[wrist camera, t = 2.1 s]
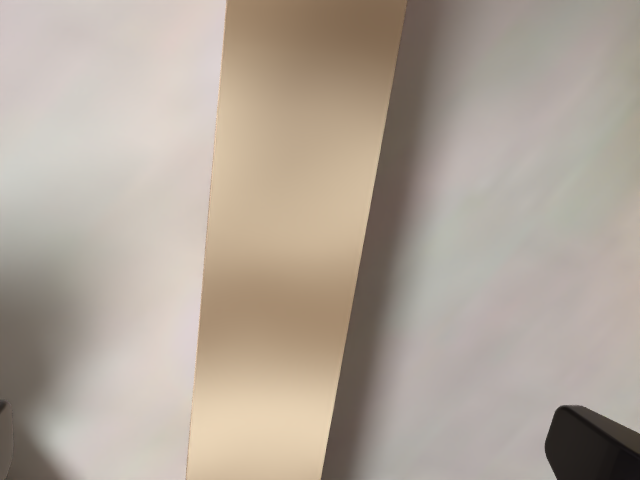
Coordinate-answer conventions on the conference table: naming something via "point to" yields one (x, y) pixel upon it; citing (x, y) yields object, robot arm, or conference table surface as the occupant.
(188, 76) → the conference table surface
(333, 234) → the beech stick
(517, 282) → the conference table surface
